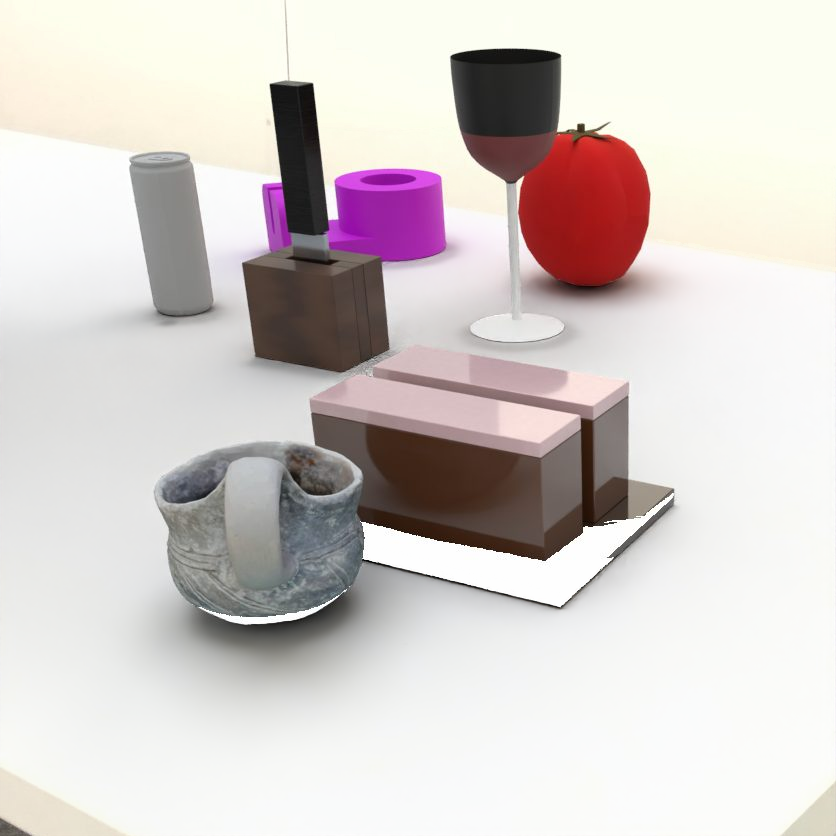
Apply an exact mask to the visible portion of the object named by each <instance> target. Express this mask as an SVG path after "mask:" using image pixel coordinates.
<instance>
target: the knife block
mask: <svg viewBox="0 0 836 836" xmlns="http://www.w3.org/2000/svg"><path fill="white" fill-rule="evenodd" d="M329 251H330V260H331V265H323V264H316V263H310V262H303V261H296V260H294V256H293V248H292V245H290V246H287V247H284V248H282V249H279V250H276V251H274V252H272V251H271V252H268V253H266V254H263V255H259V256H256V257H254V258H251V259H249V260H245V261H242V262H241V267H242V274H243V280H244V288H245V294H246V302H247V308H248V315H249V322H250V329H251V335H252V345H253V349H254V356H255V357H258V358H263V359H268V360H269V359H270V360H274V361H281V362H285V363H289V364H290V363H291V364H296V365H301V366H307V367H313V368H318V369H324V370H330V371H333V372H339V373H344V372H345V371H346V372H347V370H349V369H351V368H354V367H356V366H357V365H360V364H361V363H363V362H365V361H367V360H369V359H372V358H374V357H376V356H378V355H380V354H381V353H384V352H386V351H387V350H390V339H389V327H388V315H387V304H386V292H385V283H384V272H383V261H382V259H381V256H374V255H367V254H360V253H353V252H346V251H339V250H332V249H329Z"/></svg>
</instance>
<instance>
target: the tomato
mask: <svg viewBox="0 0 836 836" xmlns="http://www.w3.org/2000/svg"><path fill="white" fill-rule="evenodd" d="M610 124H611V121H608V122H606V123H603V124H602V125H601V126H599V127H596V128H592V129H587V130H586V123H583V122H582V123H577V124H576V128H575V129H574V128H570V129H567V130H565V131H557V134H556V137H555V141H554V144H553V146H552V149H551V151H550V153H549V154H548V156H547V157H546V158H545V159H544V160H543V162H542V163H540V164H539V165H538V166H537V167H536V168H535V169H533V170H532V171H530V172H529V173H527V174H526V175H524V176H523V177H522V178H523V179H522V181H521V185H520V187H519V188H520V189H519V197H518V206H517V213H518V222H519V226H520V233H521V236H522V238H523V240H524V243H525V246H526V248H527V250H528V251H529V253H530V254H531V255H532V257H533V259H534V260H535V261H536V263H537V264H538V265H539V266H540V267H541V268H542V269H543V270H544V271H545V272H547V274H549V275H550V276H552V277H553V278H554V279H555V280H557V281H558V280H559V281H560V282H561V281H562V282H564V283H568V284H571V285H574V286H581V287H600V286H604V285H607V284H609V283H613V282H615V281H618V280H619V279H622V278H623V277H625V275H626V274H627V272H628V270H629V269H630V268H631V266H633V264H634V262H635V260H636V259H637V257H638V256H639V254H640V252H641V251H642V248H643V245H644V241H645V238H646V234H647V231H648V228H649V225H650V215H651V214H650V211H651V187H650V182H649V178H648V173H647V170H646V168H645V167H644V165H643V163H642V161H641V159H640V157H639V155H638V153H637V151H636V149H635V148H634V147H632V146H631V145H630V144H628V143H627V142H626V141H625V140H623V139H621V138H619V137H616V136H614V135H611V134H599V133H598V131H599V132H600V131H601V130H602V129H604V128H605V127H606V126H608V125H610Z"/></svg>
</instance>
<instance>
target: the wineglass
mask: <svg viewBox="0 0 836 836" xmlns="http://www.w3.org/2000/svg"><path fill="white" fill-rule="evenodd" d="M449 63H450V74H451V84H452V91H453V99H454V107H455V113H456V118H457V119H456V120H457V123H458V128H459V131H460V135H461V137H462V140H463V144H464V146H465V149H466V150H467V152H468V154H469V155H470V156H471V158H472V159H473V160H474V161H475V162H476V163H477V164H478V165H479V166H481V167H482V168H483V169H485V170H486V171H488V172H489V173H492V174H493V175H495V176H496V177H498V178H499V179H501V180H502V181H504V182H505V185H506V187H505V188H506V206H507V207H506V208H507V209H506V210H507V229H508V253H509V255H508V256H509V275H510V276H509V278H510V300H511V301H510V302H511V312H509V313H500V314H495V315H488V316H486V317H483V318H480V319H477V320H476V321H474V322H473V323H471V325H470V328H469V330H470V332H471V333H472V334H473V335H475V336H477V337H479V338H482V339H486V340H489V341H495V342H503V343H525V342H526V343H527V342H536V341H541V340H546V339H549V338H552V337H555V336H557V335H559V334H560V333H562V332H563V331H564V329H565V324H564V323H563V322H562V320H560V319H558V318H555V317H553V316H549V315H545V314H540V313H532V312H524V313H523V312H522V293H521V268H520V267H521V266H520V265H521V264H520V243H519V241H520V240H519V239H520V238H519V215H518V190H517V183H518V181H519V180H521V179H522V178H524V175H526V174H527V173H529V172H530V171H532V170H533V169H535V168H536V167H537V166H538V165H539V164H540V163H542V162H543V160H544V159H545V158H546V157H547V156H548V154H549V153H550V151H551V149H552V146H553V144H554V141H555V137H556V134H557V132H558V130H559V122H560V115H561V114H560V112H561V111H560V110H561V99H562V97H561V96H562V54H560V53H559V52H556V51H552V50H545V49H537V48H515V47H514V48H512V47H510V48H505V47H504V48H484V49H482V48H481V49H472V50H467V51H460V52H455V53H453V54H451V55H450V56H449Z"/></svg>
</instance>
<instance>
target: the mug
mask: <svg viewBox="0 0 836 836" xmlns="http://www.w3.org/2000/svg"><path fill="white" fill-rule="evenodd" d="M362 485H363V474H362V471H361V470H360V469H359V468H358V467H357V466H356V465H355V464H354V463H352V462H351V461H350V460H349V459H347V458H346V457H344V456H343V455H341V454H339V453H337V452H334V451H330V450H327V449H324V448H321V447H318V446H315V444H311V443H307V442H300V441H294V440H288V439H287V440H284V441H282V442H280V441H277V440H255V441H249V442H243V443H237V444H233V445H230V446H229V445H228V446H224V447H219V448H215V449H213V450H209V451H208V452H205V453H204V454H199V455H197V456H195V457H192V458H190V459H189V460H187V461H186V462H185V463H183V464H181V465H179V466H176V467H175V468H173V469H172V470H170V471H169V472H167V473H165V474H163V475H161V476H160V478H159V479H158V481H157V482H156V483H155V485H154V489H153V497H154V501H155V504H156V507H157V509H158V510H159V512H160V514H161V516H162V518H163V520H164V523H165V524H166V526H167V528H168V537H167V541H166V547H167V549H166V554H167V562H168V566H169V572H170V575H171V578H172V581H173V583H174V585H175V587H176V589H177V590H178V592H179V593H180V595H181V596H182V597H183V599H185V600H186V601H187V602H188V603H190V604H191V605H192V604H193V605H192V606H194V605H195V606H194V607H196V606H198V607H202V608H204V609H206V610H209V611H212V612H216V613H219V614H220V613H221V614H226V615H229V616H230V615H231V616H240V617H241V616H242V617H268V616H276V615H285V614H287V613H297V612H299V611H305V610H309V609H311V608H314V607H318V606H320V605H322V604H325V603H326V602H328V601H330V600H332V599H333V598H335V597H336V596H338V595H340V594H341V593H342V592H343V591H344V590H346V589H347V588H348V587H349V586H351V585H352V586H353V585H354V583H355V581H356V579H357V576H358V574H359V571H360V568H361V565H362V563H363V560H362V558H363V550H364V539H365V537H364V532H363V526H362V523H361V522H360V518H359V516H358V515H357V508H358V503H359V500H360V496H361V490H362ZM352 586H351V587H352Z"/></svg>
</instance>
